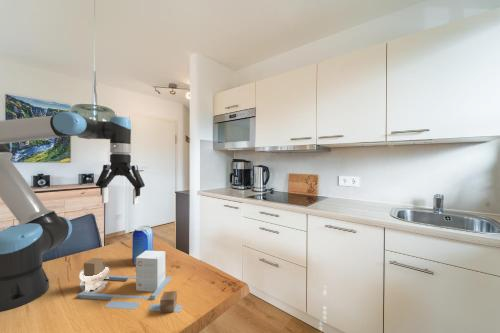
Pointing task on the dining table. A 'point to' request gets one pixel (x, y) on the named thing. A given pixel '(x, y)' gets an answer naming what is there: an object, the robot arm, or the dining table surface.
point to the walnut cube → (168, 302)
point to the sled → (96, 267)
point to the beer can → (141, 241)
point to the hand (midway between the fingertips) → (120, 203)
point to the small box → (150, 270)
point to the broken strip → (135, 304)
